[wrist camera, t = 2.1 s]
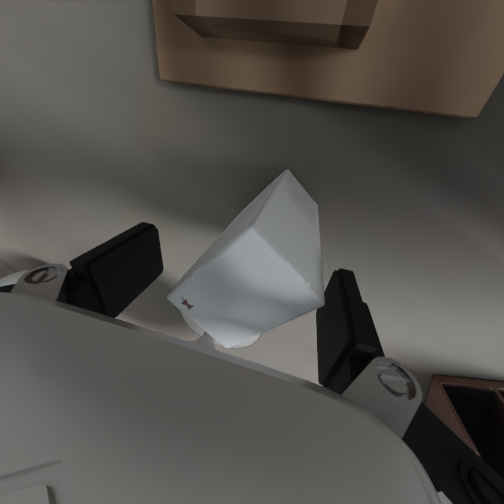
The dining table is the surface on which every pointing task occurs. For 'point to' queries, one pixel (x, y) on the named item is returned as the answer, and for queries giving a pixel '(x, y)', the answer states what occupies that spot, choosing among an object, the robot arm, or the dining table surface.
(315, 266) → the skincare box
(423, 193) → the dining table surface
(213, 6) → the box stand
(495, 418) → the letter holder
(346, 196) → the dining table surface
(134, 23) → the dining table surface
